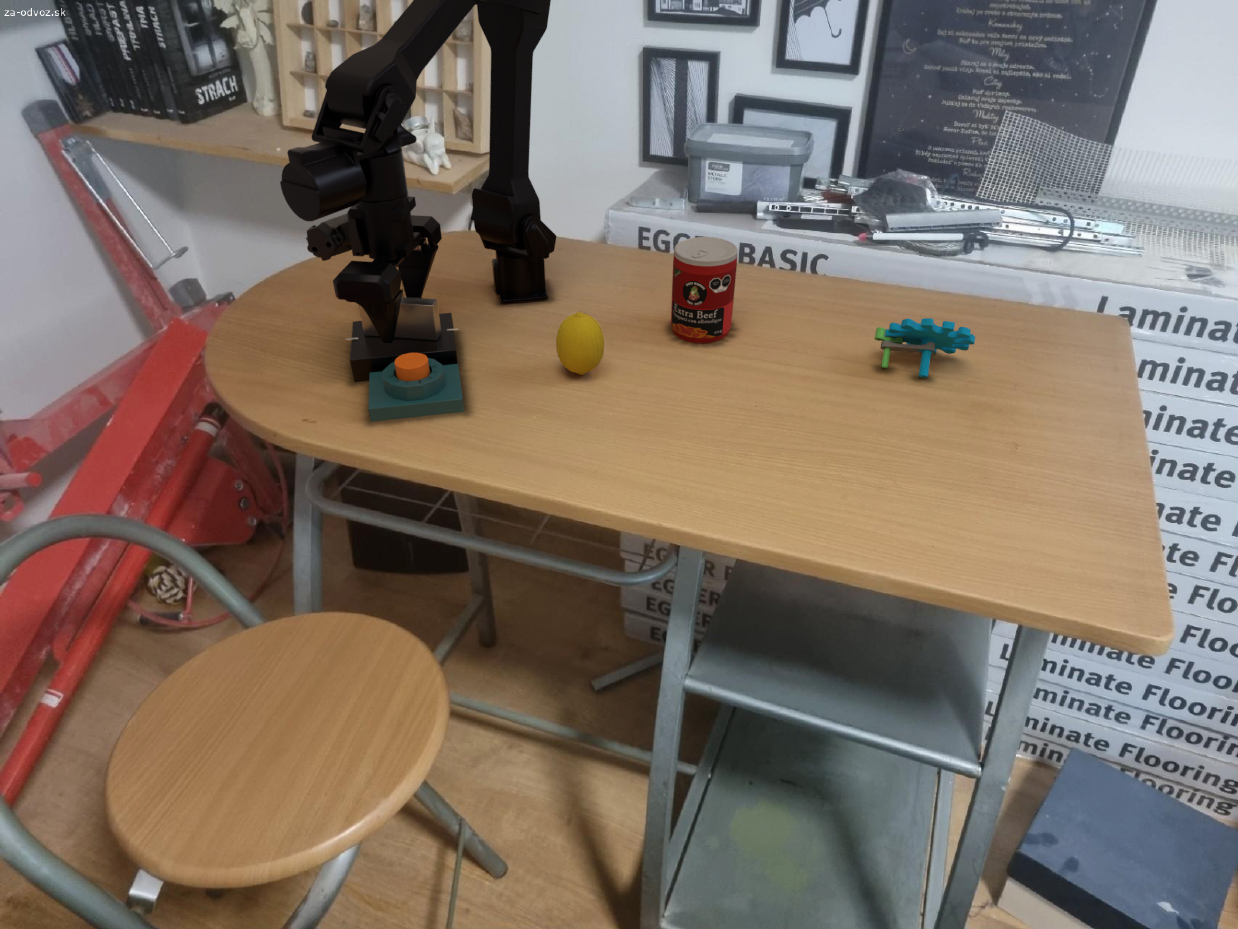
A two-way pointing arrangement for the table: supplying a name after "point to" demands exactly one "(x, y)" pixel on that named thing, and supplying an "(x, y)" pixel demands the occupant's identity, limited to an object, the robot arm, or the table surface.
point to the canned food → (703, 289)
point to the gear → (923, 340)
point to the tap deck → (398, 349)
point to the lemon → (580, 343)
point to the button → (412, 367)
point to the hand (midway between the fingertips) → (401, 324)
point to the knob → (411, 320)
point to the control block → (415, 393)
